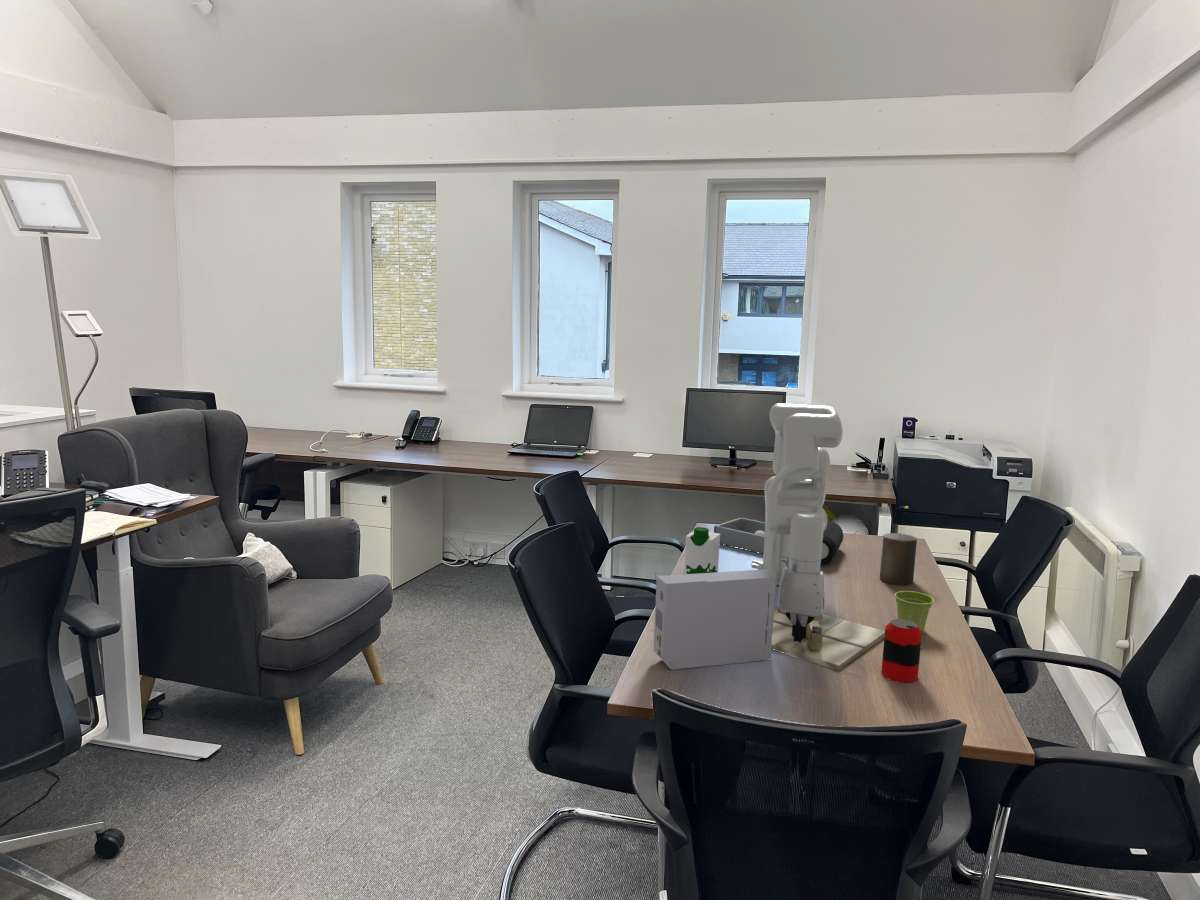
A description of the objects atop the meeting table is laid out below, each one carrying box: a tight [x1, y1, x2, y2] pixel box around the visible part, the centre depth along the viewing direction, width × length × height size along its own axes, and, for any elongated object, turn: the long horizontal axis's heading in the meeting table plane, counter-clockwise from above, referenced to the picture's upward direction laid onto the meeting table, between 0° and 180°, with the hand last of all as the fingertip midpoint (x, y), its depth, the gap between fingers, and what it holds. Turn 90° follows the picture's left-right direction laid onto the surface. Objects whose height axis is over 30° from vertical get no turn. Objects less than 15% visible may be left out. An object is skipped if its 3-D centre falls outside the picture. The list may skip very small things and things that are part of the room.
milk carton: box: [683, 526, 720, 574], centre depth 225 cm, size 9×9×20 cm
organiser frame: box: [713, 517, 765, 554], centre depth 282 cm, size 24×18×6 cm
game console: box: [653, 569, 777, 671], centre depth 183 cm, size 6×27×20 cm, turn 107°
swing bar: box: [801, 615, 823, 650], centre depth 195 cm, size 15×4×5 cm, turn 173°
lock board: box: [772, 606, 885, 671], centre depth 200 cm, size 28×28×4 cm
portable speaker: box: [821, 520, 844, 566], centre depth 270 cm, size 26×10×10 cm, turn 157°
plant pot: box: [894, 590, 935, 633], centre depth 207 cm, size 9×9×9 cm
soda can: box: [881, 618, 923, 684], centre depth 179 cm, size 8×8×12 cm
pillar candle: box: [879, 532, 918, 586], centre depth 246 cm, size 10×10×15 cm
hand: (798, 639), depth 192 cm, fingers closed
